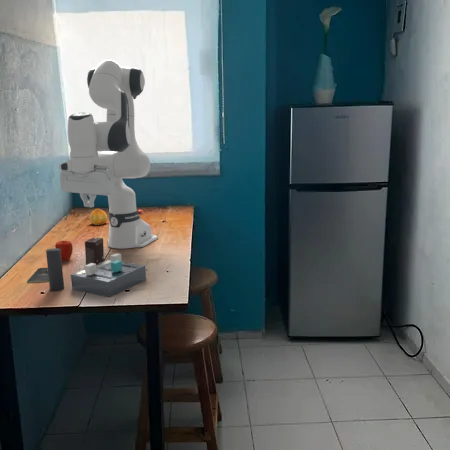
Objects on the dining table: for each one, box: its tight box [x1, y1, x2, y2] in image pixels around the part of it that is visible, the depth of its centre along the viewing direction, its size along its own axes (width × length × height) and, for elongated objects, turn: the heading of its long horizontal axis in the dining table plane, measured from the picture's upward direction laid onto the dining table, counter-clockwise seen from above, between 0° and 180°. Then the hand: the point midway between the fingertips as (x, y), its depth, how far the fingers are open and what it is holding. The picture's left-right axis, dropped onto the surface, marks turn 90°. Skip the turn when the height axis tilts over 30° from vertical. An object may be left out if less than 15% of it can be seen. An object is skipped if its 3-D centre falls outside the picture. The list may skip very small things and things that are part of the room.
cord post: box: [45, 247, 65, 292], centre depth 172 cm, size 4×4×13 cm
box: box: [84, 237, 105, 265], centre depth 188 cm, size 6×4×12 cm
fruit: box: [89, 208, 108, 226], centre depth 262 cm, size 8×8×8 cm
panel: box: [70, 259, 147, 298], centre depth 176 cm, size 18×16×5 cm
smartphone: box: [26, 267, 49, 284], centre depth 187 cm, size 8×1×15 cm
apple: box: [55, 240, 73, 262], centre depth 204 cm, size 6×6×8 cm
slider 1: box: [84, 263, 97, 275], centre depth 171 cm, size 3×2×3 cm, turn 150°
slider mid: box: [111, 260, 123, 272], centre depth 173 cm, size 3×2×3 cm, turn 150°
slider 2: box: [109, 252, 122, 262], centre depth 181 cm, size 3×2×3 cm, turn 150°
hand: (89, 206), depth 175 cm, fingers closed
